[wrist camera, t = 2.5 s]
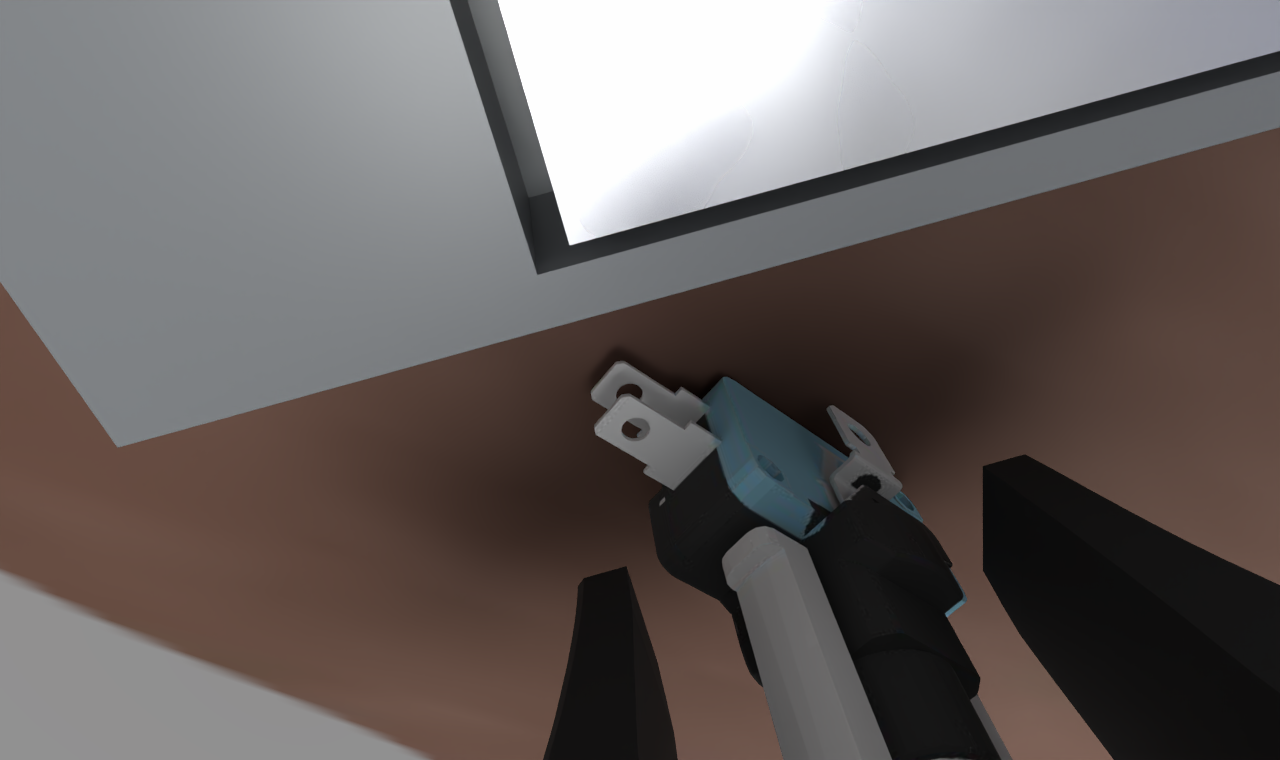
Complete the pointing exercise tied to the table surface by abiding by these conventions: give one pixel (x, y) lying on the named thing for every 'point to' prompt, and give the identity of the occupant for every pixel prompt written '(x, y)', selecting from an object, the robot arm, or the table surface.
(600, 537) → the table surface
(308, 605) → the table surface
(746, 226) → the scale housing
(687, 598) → the table surface
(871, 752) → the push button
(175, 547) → the table surface
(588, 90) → the weighing pan
